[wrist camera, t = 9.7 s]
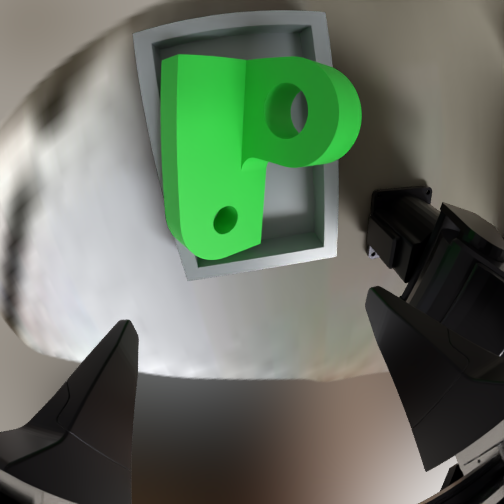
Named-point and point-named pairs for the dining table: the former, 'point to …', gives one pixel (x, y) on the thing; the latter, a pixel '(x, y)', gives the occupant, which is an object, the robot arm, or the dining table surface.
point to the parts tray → (277, 177)
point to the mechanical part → (242, 140)
